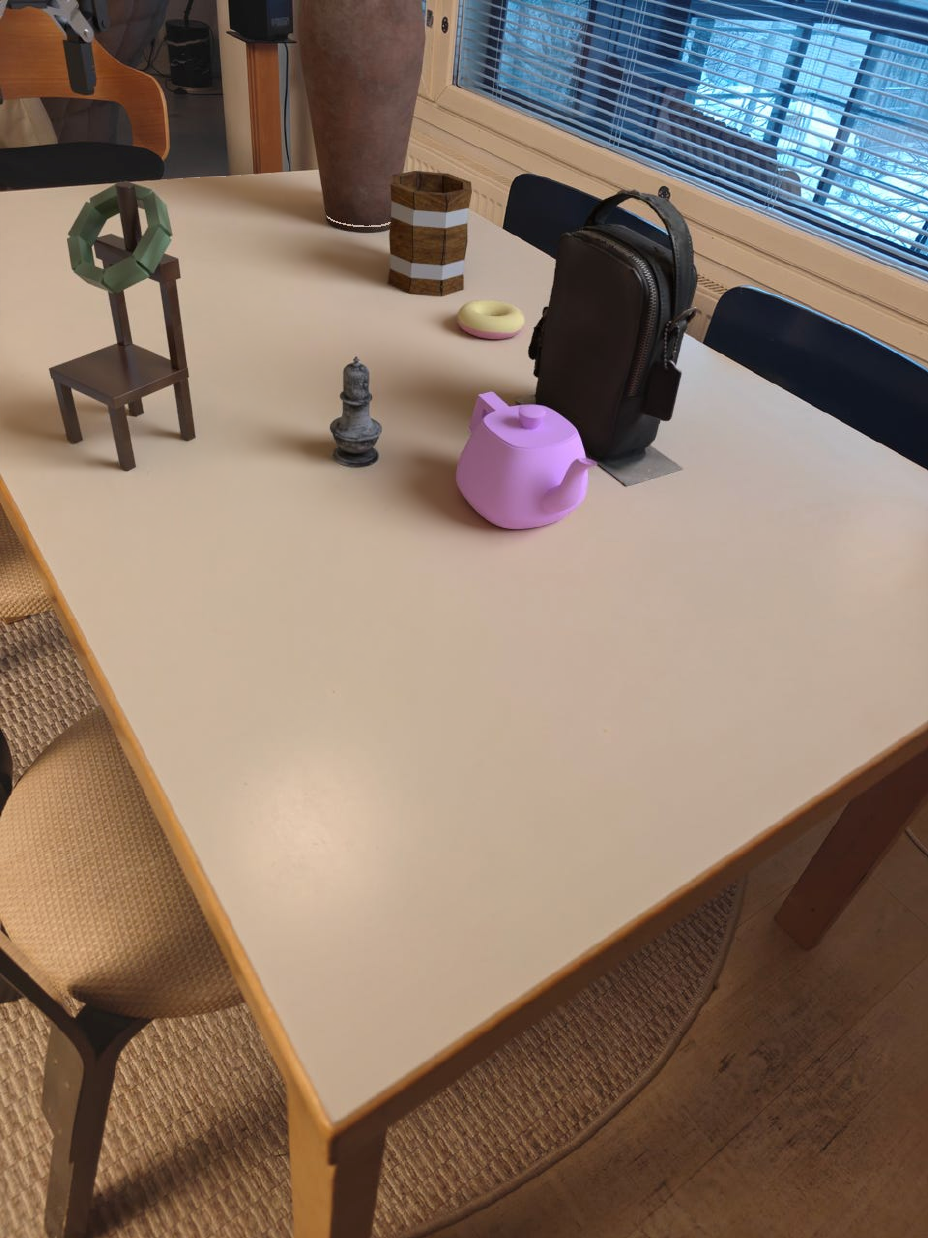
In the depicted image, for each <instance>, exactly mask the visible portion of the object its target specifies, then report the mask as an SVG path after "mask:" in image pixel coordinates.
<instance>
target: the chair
mask: <svg viewBox="0 0 928 1238" xmlns="http://www.w3.org/2000/svg"><path fill="white" fill-rule="evenodd" d="M134 184H135V183H134ZM134 184H133V182H131V183H130V181H128V182H124V181H121V182H120V181H118V182H116V183H115V184H114V185H115V188H116V194H117V200H118V207H119V217H120V224H121V229H122V235H123V236H122V237H121V236H118V235H115V234H114V233H109V234H104V235H101V236H98V237H97V239H96V241H95V242H94V244H93V249H94V254H95V255H94V256H95V258H96V259H97V260H101V263H102V267H103V268H102V269H107V268H109V267H111V266H113V265H114V264H116V263H118V262H120V261H122V260H124V259H126V258H128V257H130V256H132V254H133V253H134V251H135V249H136V247H137V245H138V244H139V242H140V240H141V238H142V236H143V232H142V231H143V230H142V224H141V220H140V212H139V208H138V204H137V198H136V191H135V185H134ZM180 268H181V267H180V261H179V258H178V257H175V256H174V255H170V254H167V253H166V252H165V253H164V255H163V257H162V259H161V260H160V262H159V264H158V266H157V268H156V269H155V271H154V273H150V272H149V277H148V278H147V279H150V280H151V281H154V282H157V283H158V284H159V290H160V297H161V298H160V299H161V303H162V312H163V318H164V324H165V332H166V339H167V340H166V341H167V345H168V353H169V358H167V357H165V356H163V355H160V354H158V353H156V352H154V351H151V350H149V349H146V348H144V347H141V346H139V345H137V344H135V343H133V337H132V332H131V326H130V319H129V315H128V314H129V313H128V308H127V302H126V297H125V292H124V291H125V290H123V291H121V292H119V293H117V292H114V294H113V293H110V292H108V291H107V296H108V301H109V306H110V312H111V317H112V322H113V328H114V332H115V339H116V343H113V344H111V345H108V346H105V347H103V348H100V349H97V350H95V351H91V352H89V353H86V354H83V355H82V356H78V357H76V358H73V359H71V360H67V361H65V362H62V363H60V364H57V365H54V366H51V367H49V368H48V372H49V375H50V379H51V380H52V383H53V386H54V390H55V394H56V399H57V403H58V408H59V411H60V415H61V419H62V423H63V428H64V432H65V435H66V436H65V437H66V440H67V441H68V442H70V443H72V444H74V445H75V444H77V443H80V442H81V441H83V440H84V438H83V433H82V429H81V425H80V421H79V417H78V412H77V407H76V402H75V398H74V393H73V391H76V392H78V393H81V394H82V395H85V396H87V397H88V398H91V399H93V400H95V401H97V402H99V403H101V404H104V405H106V406H107V410H108V416H109V420H110V424H111V429H112V430H111V431H112V434H113V439H114V444H115V450H116V455H117V459H118V465H119V468H120V469H122V470H123V471H126V472H129V471H131V470H133V469H135V468H137V464H136V459H135V454H134V449H133V443H132V437H131V432H130V427H129V421H128V416H127V411H126V405H127V408H128V412H129V414H130V415H132V416H135V417H138V416H141V415H143V414H145V411H144V405H143V399H142V398H144V397H147V396H149V395H151V394H153V393H156V392H159V391H160V390H163V389H165V388H168V387H170V386H173V392H174V398H175V405H176V412H177V419H178V426H179V432H180V438H181V439H183V440H185V441H186V442H189V441H192V440H193V439H195V438H196V430H195V429H196V428H195V421H194V414H193V405H192V399H191V390H190V382H189V378H190V373H189V367H188V361H187V353H186V346H185V345H186V344H185V339H184V332H183V331H184V330H183V323H182V315H181V308H180V301H179V293H178V286H177V280H179V279H182V276H181V269H180Z"/></svg>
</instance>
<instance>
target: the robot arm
mask: <svg viewBox="0 0 928 1238" xmlns="http://www.w3.org/2000/svg"><path fill="white" fill-rule="evenodd" d="M27 7H30V8H34V9H38V10H42V11H43V12H44V13H46V14H47V15H49V16H50V18H51V19H52V21H53V22H54V23H55V24H56V26H57V28H58V29H59V30H60V32H61V33H62V35H64V36H65V37H66V39H62V40H61V41H62V46H63V52H64V58H65V59H64V60H65V64H66V71H67V77H68V81H69V87H70V89H71V91H72V92H73V93H74V94H78V95H81V96H86V97H87V96H93V95H94V94H95V87H96V86H97V82H98V81H97V80H98V78H97V72H96V66H95V60H94V59H95V58H94V52H93V45H92V43H93V40H94V38H95V36H97V35H99V34H100V33H102V32H103V33H107V32H109V31H110V29H111V19H110V14H109V8H108V2H107V0H0V20H1V19H2V17H3V15H4V13H5V10H6V9H9V10H23V9H25V8H27ZM3 104H4V98H3V93H2V87H1V86H0V106H1V105H3Z"/></svg>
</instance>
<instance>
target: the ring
mask: <svg viewBox="0 0 928 1238" xmlns="http://www.w3.org/2000/svg"><path fill="white" fill-rule="evenodd" d="M119 182H122V181H119ZM123 182H130V181H127V180H124V181H123ZM130 183H133V182H130ZM133 184H134V185H135V191H136V198H137V204H138V209H142V210H144V214H145V219H146V224H147V227H146V229H145V231H144V233H143V234H142V238H141V240H140V242H139V244H138V245H137V247H136V249H135V251H134V253H133V254H132V256H130V257H128V258H126V259H124V260H122V261H120V262H118V263H116V264H114V265H113V266H111V267H109V268H107V269H104V268H102V267H99V266H97V265H96V264H95V258H94V252H93V247H94V245H93V244H94V242H95V241H96V239H97V237H99V235H100V233H101V232H102V230H103V228H104V226H105V224H106V223H107V221H108V220H109V219H111V218H114V217H115V216H117V215H120V213H119V207H118V200H117V194H116V188H115V184H113V185H111V186H109V187H107V188H106V189H104V190H102V191H100V192H98V193H96V194H94V195H93V196H90V197H89V201H85V202H84V205H83V206H82V208H81V209H80V211H79V213H78V214H77V217H76V219H75V220H74V222H73V224H72V225H71V227H70V229H69V231H68V232H67V236H69V237H67V238H66V241H67V242H66V243H67V249H68V255H69V262H70V269H71V270H72V271H73V273H74V274H75V275H77V276H78V277H79V278H80V279H82V280H83V281H84V282H85V283H86V284H87V285H88V284H89V285H91V286H93V287H96V288H98V289H101V290H103V291H106V292H107V293H108V292H110V293H113V294H114V292H117V293H119V292H121V291H123V290H124V291H125V290H127V289H129V288H131V287H132V286H135V285H137V284H139V283H141V282H142V281H144V280H146V279H149V278H148V277H149V272H150V273H154V271H155V269H156V268H157V266H158V264H159V262H160V260H161V259H162V257H163V255H164V253H165V254H166V251H167V249H168V248H169V246H170V244H171V242H172V240H173V239H172V238H171V237H173V236H174V234H173V229H172V225H171V220H170V215H169V210H168V206H167V204H166V203H165V201H164V200H162V198H161V197H159V195H158V194H157V193H156V192H155V191H154V190H153V189H151V188H150V187H145V186H143V185H140V184H137V183H133Z"/></svg>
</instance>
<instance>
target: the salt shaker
mask: <svg viewBox="0 0 928 1238" xmlns="http://www.w3.org/2000/svg"><path fill="white" fill-rule="evenodd" d="M352 361H353V362H350V363H348V364H347V365H345V367H344V368H343V370H342V384H343V385H342V391H341V392H339V393H340V394H339V399H340V400H341V401H342V413H341V416H338V417H336V418H334V419H333V420H332V422H331V423H330V424H329V431H330V433H331V434H332V438H333V440H334V442H335V444H336V446H337V447H335V448H334V449H333V451H332V458H333V460H334V461H335V462H337V464H339V465H341V466H345V467H348V468H349V467H350V468H365V467H369V466H372V465H374V464H375V463H376V462H377V461H378V460H379V455H380V454H379V452H378V450H377V449H376V448H375V446H376V444H377V443H378V441H379V439H380V435H381V434H382V432H383V427H382V424H381V423H380V422H379V421H378V420H376V419H375V418H373V417H371V414H370V413H371V412H370V403H371V402H372V400H373V394H372V393H371V392H370V370H369V368H368V367H367V365H364V363H361V362H360V361H361V359H360V358H359V357H358V355H356V356H355V357H354V358H353V359H352Z"/></svg>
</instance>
